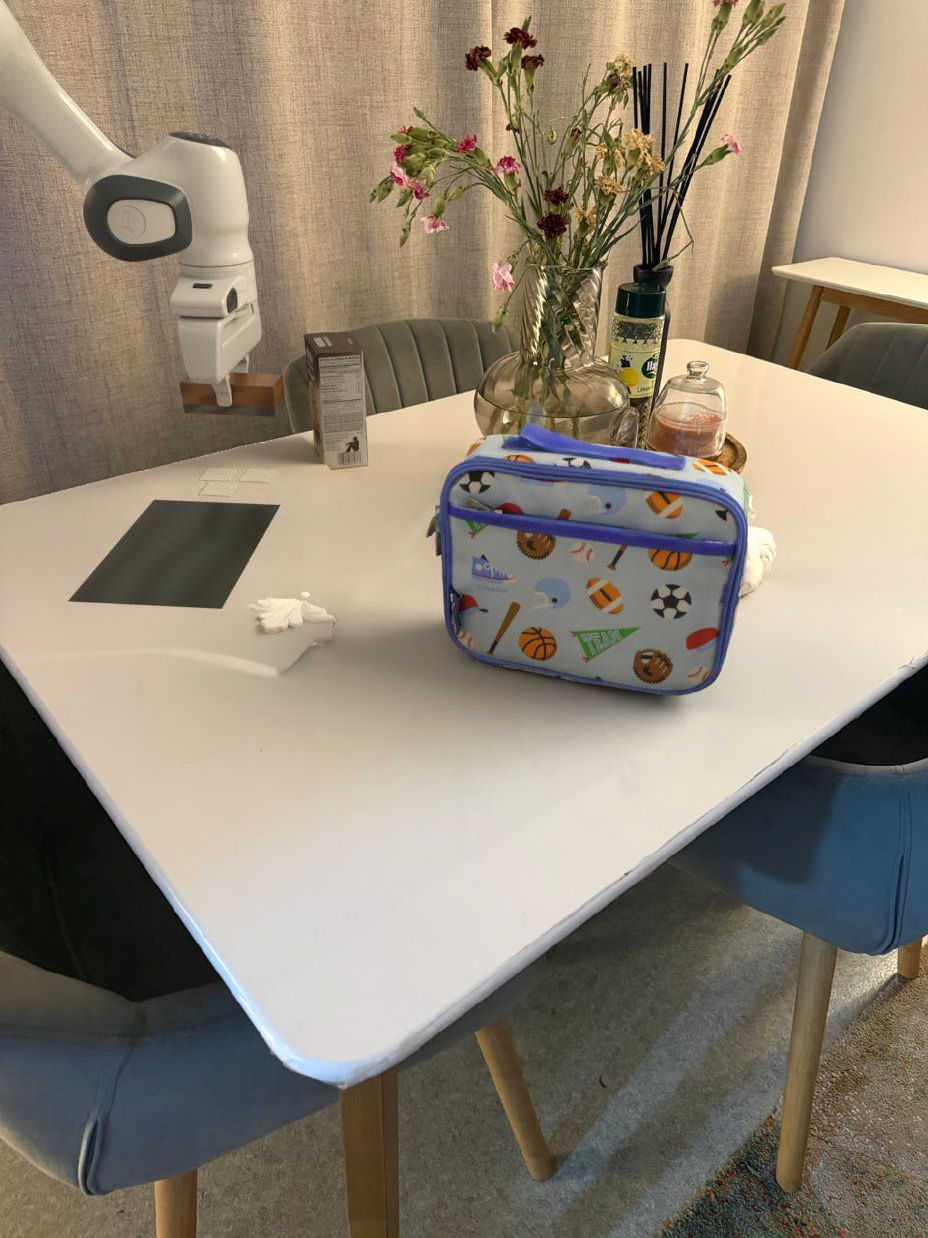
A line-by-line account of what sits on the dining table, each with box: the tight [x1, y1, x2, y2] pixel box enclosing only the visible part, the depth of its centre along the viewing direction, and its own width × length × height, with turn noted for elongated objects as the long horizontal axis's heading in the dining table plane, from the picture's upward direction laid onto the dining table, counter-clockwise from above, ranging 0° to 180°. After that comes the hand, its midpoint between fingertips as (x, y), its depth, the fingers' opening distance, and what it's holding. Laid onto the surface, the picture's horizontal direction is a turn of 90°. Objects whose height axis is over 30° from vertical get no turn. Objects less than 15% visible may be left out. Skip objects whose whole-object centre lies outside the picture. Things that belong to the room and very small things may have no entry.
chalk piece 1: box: [198, 467, 238, 482], centre depth 117 cm, size 4×4×1 cm
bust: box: [741, 495, 777, 596], centre depth 94 cm, size 12×8×11 cm
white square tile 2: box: [238, 468, 278, 484], centre depth 117 cm, size 4×4×1 cm
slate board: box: [67, 499, 281, 610], centre depth 100 cm, size 18×26×1 cm
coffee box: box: [303, 331, 369, 470], centre depth 120 cm, size 9×6×16 cm
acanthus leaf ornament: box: [246, 591, 337, 635], centre depth 89 cm, size 8×7×2 cm
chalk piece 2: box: [198, 481, 240, 498], centre depth 113 cm, size 4×4×1 cm
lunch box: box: [425, 421, 750, 696], centre depth 78 cm, size 28×10×22 cm, turn 73°
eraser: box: [179, 371, 286, 418], centre depth 115 cm, size 12×5×4 cm, turn 86°
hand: (233, 396), depth 115 cm, fingers closed on eraser, 5 cm apart
